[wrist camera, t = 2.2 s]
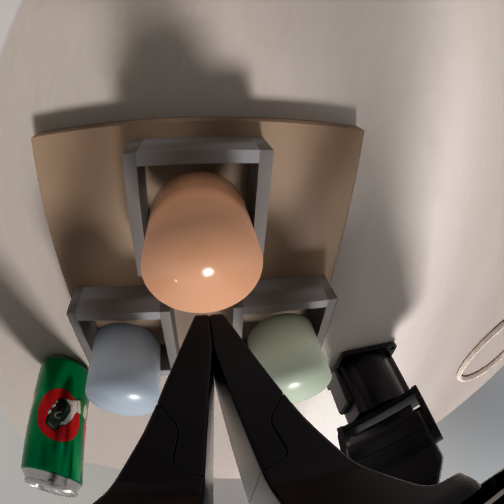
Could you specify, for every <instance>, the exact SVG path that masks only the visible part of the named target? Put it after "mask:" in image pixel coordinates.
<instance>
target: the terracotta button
mask: <svg viewBox="0 0 504 504" xmlns="http://www.w3.org/2000/svg"><path fill="white" fill-rule="evenodd" d="M140 266H141V274H142V278H143V280H144V283H145V285H146V286H147V288H148V289H149V291H150V292H151V293H152V294H153V295H154V296H155V297H156V298H157V299H158V300H159V301H161V302H162V303H164V304H166V305H167V306H169V307H172V308H174V309H177V310H180V311H184V312H190V313H209V312H215V311H219V310H223V309H226V308H228V307H230V306H233V305H234V304H236V303H238V302H239V301H241V300H242V299H244V298H245V297H246V296H247V295H248V294H249V293H250V292H251V291H252V290H253V289H254V287H255V286H256V284H257V282H258V281H259V279H260V276H261V273H262V268H263V256H262V251H261V248H260V245H259V242H258V239H257V237H256V234H255V231H254V228H253V225H252V222H251V219H250V217H249V214H248V211H247V208H246V205H245V203H244V200H243V197H242V195H241V193H240V192H239V190H238V189H237V188H236V186H235V185H234V184H233V183H231V182H230V181H229V180H228V179H226V178H224V177H223V176H220V175H218V174H215V173H212V172H206V171H192V172H187V173H183V174H180V175H178V176H176V177H174V178H172V179H171V180H169V181H168V182H167V183H165V184H164V185H163V186H162V187H161V189H160V190H159V191H158V193H157V194H156V196H155V198H154V200H153V203H152V207H151V211H150V216H149V220H148V225H147V230H146V235H145V240H144V245H143V250H142V256H141V265H140Z"/></svg>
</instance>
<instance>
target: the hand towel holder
mask: <svg viewBox="0 0 504 504" xmlns="http://www.w3.org/2000/svg"><path fill="white" fill-rule="evenodd" d="M503 328H504V321H503V322H501V323H500V324H499V325H498V326H497V327H496V328H494V329H493V330H492V331H491V332H490V333H489V334H488V335H487V336H486V337H485V338H484V339H483V340H482V341H481V342H480V343H479V344H478V345H477V346H476V347H475V348H474V349H473V350H472V351H471V353H470V354H469V355H468V356H467V357H466V359H465V360H464V361H463V363H462V364H461V366H460V367H459V370H458V372H457V379H458V380H459V381H461V382H467V381H470V380H473V379H475V378H477V377H478V376H480V375H482V374H483V373H485V372H486V371H488V370H489V369H490V368H492V367H493V366H494V365H495V364H497V363H498V362H499V361H500V360H501V359H502V358H503V357H504V351H503V352H502V353H501V354H500V355H499V356H497V357H496V358H495V359H494V360H493V361H492V362H491V363H489V364H488V365H487V366H485V367H484V368H482V369H481V370H479V371H478V372H476V373H474V374H472V375H469V376H466V377H463V376H462V373H463V371H464V369H465V368H466V366H467V365H468V363H469V362H470V361H471V360H472V358H473V357H474V356H475V355H476V354H477V353H478V352H479V351H480V350H481V349H482V347H483V346H484V345H485V344H486V343H487V342H489V341H490V340H491V339H492V338H493V337H494V336H495V335H496V334H497V333H498V332H500V331H501V330H502V329H503Z"/></svg>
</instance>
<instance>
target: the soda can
mask: <svg viewBox="0 0 504 504" xmlns="http://www.w3.org/2000/svg"><path fill="white" fill-rule="evenodd" d="M87 376H88V371H87V369H86V368H85V367H84V366H83V365H82V364H80V363H79V362H77V361H76V360H73V359H71V358H68V357H64V356H52V357H49V358H48V359H46V360H44V361H43V362H42V365H41V368H40V372H39V376H38V380H37V384H36V388H35V392H34V396H33V401H32V405H31V410H30V415H29V420H28V425H27V431H26V437H25V443H24V449H23V457H22V464H21V468H22V470H23V472H24V475H25V477H26V478H25V479H24V480H25V482H26V483H28V484H29V485H31V486H33V487H35V488H38V489H40V490H43V491H46V492H49V493H52V494H56V495H61V496H66V497H77V496H78V494H77V491H78V490H79V489H80V488H81V487H82V482H83V460H84V445H85V434H86V423H87V414H88V406H89V399H88V398H87V396H86V393H85V388H86V382H87Z"/></svg>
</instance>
